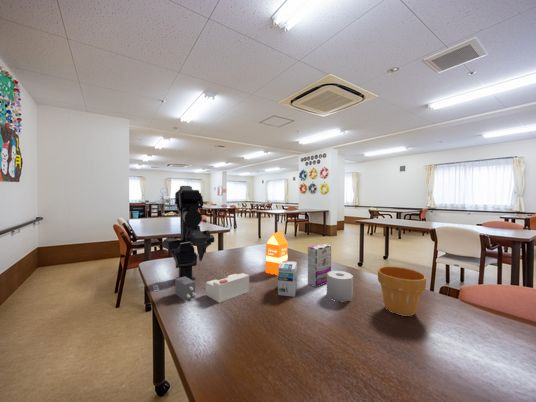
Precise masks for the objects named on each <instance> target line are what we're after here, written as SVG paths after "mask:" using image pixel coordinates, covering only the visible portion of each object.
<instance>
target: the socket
mask: <svg viewBox="0 0 536 402" xmlns="http://www.w3.org/2000/svg"><path fill="white" fill-rule="evenodd" d="M249 292H250V274H249V275H248V274H247V273H243V272H242V273H238V274H237V273H233V274H230V275H227V276H226V277H224V278H222V279H211V280H209V281H206V282H205V296H207V297H209V298H210V299H212V300H214V301H215V302H217V303H218V304H219V303H222V302H226V301H228V300H230V299H233V298H236V297H238V296H241V295H243V294H246V293H249Z"/></svg>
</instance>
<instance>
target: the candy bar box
mask: <svg viewBox="0 0 536 402" xmlns="http://www.w3.org/2000/svg"><path fill="white" fill-rule="evenodd" d="M330 271H332V245H330V244H325V243H322V244H317V245H312V246H308V247H307V284H308V285H309V284H310V285H309V286H312V285H313V286H312V287H315V288H317V286H318V287H320V286H322V285H324V284H323V283H325V282H327V273H328V272H330ZM321 284H322V285H321ZM325 284H326V283H325ZM319 285H320V286H319Z"/></svg>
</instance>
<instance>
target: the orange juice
mask: <svg viewBox="0 0 536 402" xmlns="http://www.w3.org/2000/svg"><path fill="white" fill-rule="evenodd" d="M288 244H289V242H288V241H287V240H286V238H285V235H284V234H283V232H282V231H278V232H274V233H272V234H271V235H270V237H269V238H268V240H267V242H266V243H265V274H269V273H270V275H273V274H275V275H274V276H278V268H279V266H280V264H281V262H282V261H288V255H289V254H288V247H289V246H288Z"/></svg>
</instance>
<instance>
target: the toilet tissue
mask: <svg viewBox="0 0 536 402" xmlns="http://www.w3.org/2000/svg"><path fill="white" fill-rule="evenodd" d="M353 289H354V275H352V274H351V273H350V272H347V271H344V270H342V271H341V270H331V271H330V272H328V273H327V283H326V296H328V297H329V298H330V299H329V298H328V297H327V298H328V299H329V300H331V299H333V300H335V301H334V302H336V301H343V302H344V303H346V302H345V301H350V300H351V299H352V298H353V297H354V296H353V291H354V290H353ZM353 299H354V298H353ZM353 299H352V300H353ZM333 300H332V301H333ZM352 300H351V301H352ZM351 301H350V302H351ZM343 302H342V303H343Z"/></svg>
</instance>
